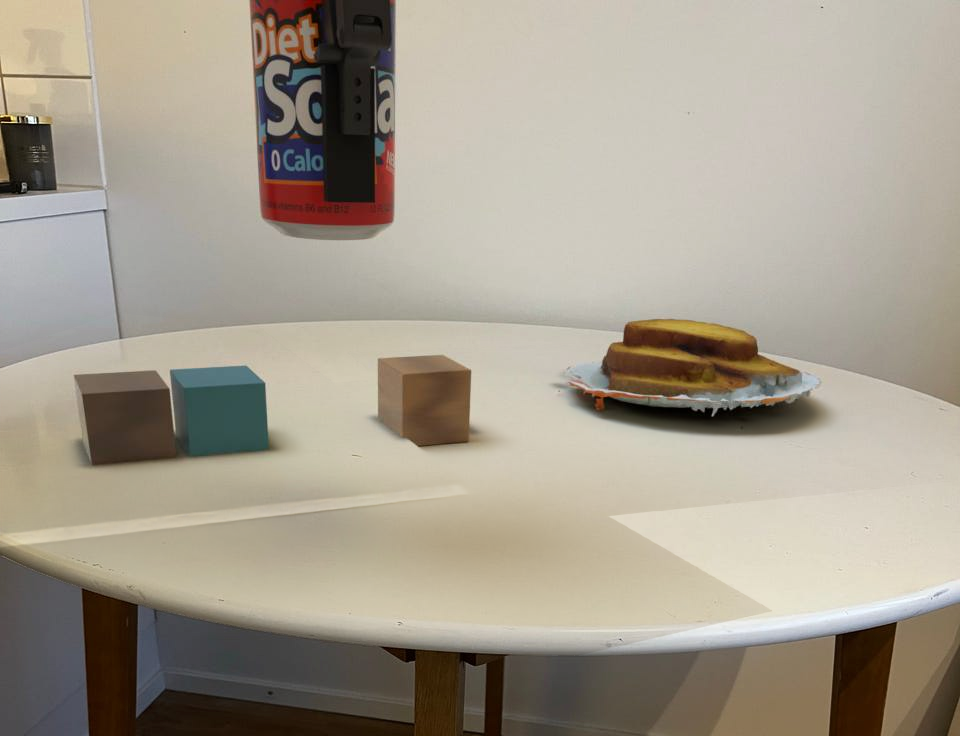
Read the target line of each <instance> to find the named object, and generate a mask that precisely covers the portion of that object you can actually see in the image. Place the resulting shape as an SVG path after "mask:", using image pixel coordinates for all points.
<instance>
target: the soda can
mask: <svg viewBox="0 0 960 736" xmlns="http://www.w3.org/2000/svg"><path fill="white" fill-rule="evenodd" d="M390 14H391V34H392V41H391V47H390V49H389V50H388V51H381V50H380V57H379V61H378V64H377V66H376V67H375V66H371V68H374V69H375V203H362V202H326V201H324V179H323V137H322V94H321V65H329V66H337V64H330V63H317V62H315V60H314V54H315V51H316V49H317V47H318V46H319V43H323V44H326V39H325V31H324V23H323V16H322V2H321V0H249V17H250V19H249V20H250V38H251V39H250V40H251V56H252V77H253V78H252V79H253V94H254V95H253V96H254V116H255V117H254V119H255V135H256V150H257V151H256V155H257V174H258V175H257V177H258V190H259V191H258V192H259V195H258V196H259V205H260V206H259V209H260V216H261V219H262V220H263V221H264V222H265V223H266V224H268V225H269V226H270V227H272V228H274V229H275V230H276V231H278V232H279V234H281V235H283V236H286V237H290V238H296V239H306V240H316V241H359V240H361V241H362V240H363V241H364V240H368V239H369V240H370V239H373V238H375V237H377V236H378V235H379V234H381V233H382V232H383V231H386V230H387V229H388V228H390V227H391V226H392V225H393V224H394V222H395V211H396V208H395V207H396V193H395V192H396V52H397V51H396V44H397V41H396V40H397V39H396V38H397V37H396V36H397V34H396V33H397V24H396V23H397V0H390Z"/></svg>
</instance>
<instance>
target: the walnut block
mask: <svg viewBox="0 0 960 736" xmlns="http://www.w3.org/2000/svg"><path fill="white" fill-rule="evenodd" d="M73 381H74V388H75V395H76V403H77V409H78V417H79V424H80V430H81V431H80V432H81V438H82V444H83V446H84V448H85V452H86V454H87V457H88V459H89V462H90V464H91V466H99V465H110V464H120V463H121V464H123V463H133V462H143V461H156V460H166V459H167V460H168V459H177V448H176V438H175V429H174V428H175V427H174V418H173V409H172V408H173V407H172V399H171V398H172V397H171V388H170V387H169V386H168V384H166V382H165V380H164V379H163V378H162V376H161V375H160V374H159V373H158V371H157V370H155V369H154V370H136V371H134V370H133V371H117V372H100V373H81V374H80V373H79V374H73Z"/></svg>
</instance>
